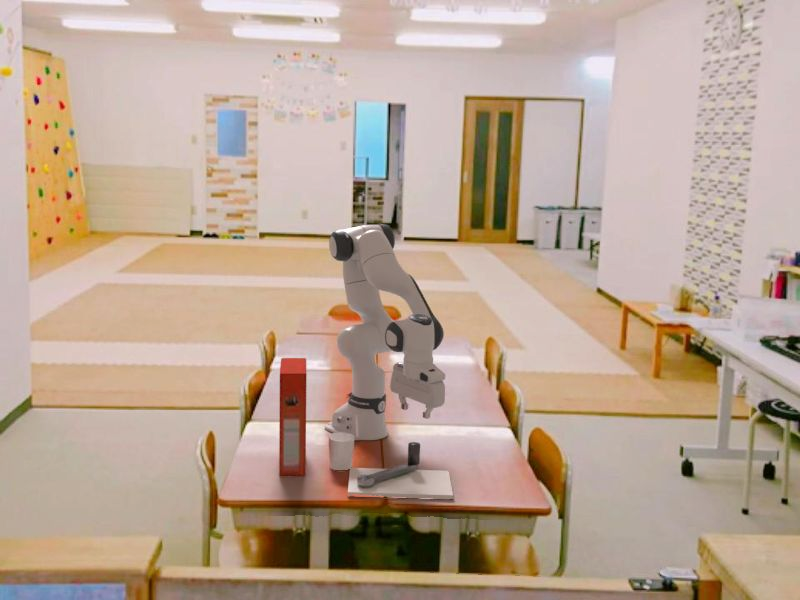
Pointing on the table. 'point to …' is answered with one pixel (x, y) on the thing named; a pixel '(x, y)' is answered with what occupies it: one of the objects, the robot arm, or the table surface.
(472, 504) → the table surface
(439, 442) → the table surface
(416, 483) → the lever board
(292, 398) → the file binder
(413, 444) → the lever
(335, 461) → the white cup
